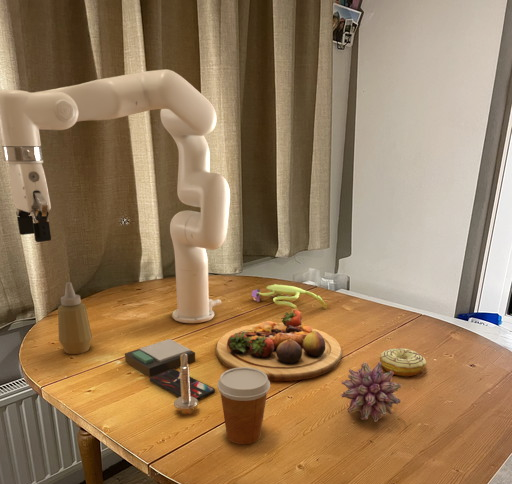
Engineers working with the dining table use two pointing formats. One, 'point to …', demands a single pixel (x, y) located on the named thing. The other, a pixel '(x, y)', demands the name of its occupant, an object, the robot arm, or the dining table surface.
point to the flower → (371, 391)
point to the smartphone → (172, 384)
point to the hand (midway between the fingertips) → (35, 237)
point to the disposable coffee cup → (243, 403)
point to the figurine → (285, 294)
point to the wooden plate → (280, 349)
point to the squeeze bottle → (73, 323)
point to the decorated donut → (402, 361)
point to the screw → (185, 389)
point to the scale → (158, 357)
